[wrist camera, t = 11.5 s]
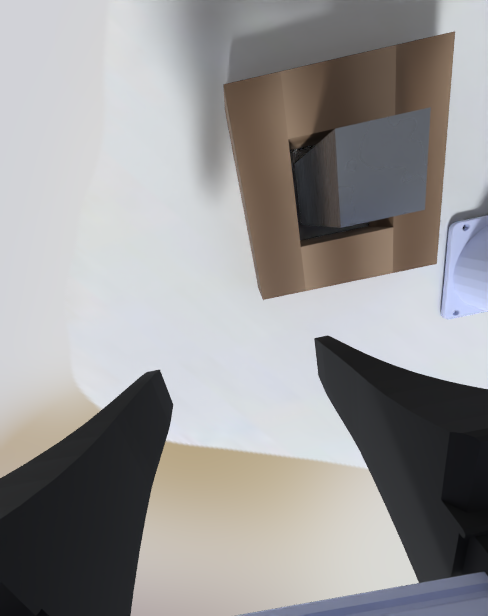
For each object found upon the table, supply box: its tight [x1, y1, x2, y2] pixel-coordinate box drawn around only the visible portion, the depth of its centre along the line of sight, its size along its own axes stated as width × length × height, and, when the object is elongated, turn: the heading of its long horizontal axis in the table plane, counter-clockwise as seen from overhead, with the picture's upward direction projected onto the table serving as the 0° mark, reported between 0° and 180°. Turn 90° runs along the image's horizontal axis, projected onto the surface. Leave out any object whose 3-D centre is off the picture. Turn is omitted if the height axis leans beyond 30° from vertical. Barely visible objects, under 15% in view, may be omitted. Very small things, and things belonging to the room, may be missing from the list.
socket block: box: [224, 32, 455, 300], centre depth 16 cm, size 12×12×3 cm
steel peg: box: [294, 107, 431, 228], centre depth 14 cm, size 4×4×7 cm
